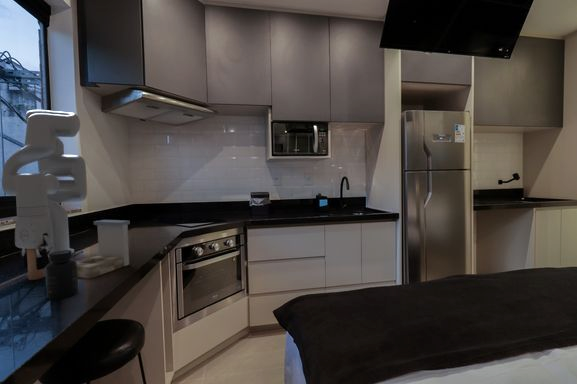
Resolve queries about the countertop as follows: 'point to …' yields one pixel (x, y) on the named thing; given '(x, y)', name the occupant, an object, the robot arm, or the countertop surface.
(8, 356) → the countertop surface
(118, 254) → the white lidded canister
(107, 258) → the socket block
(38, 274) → the peg
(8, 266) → the countertop surface
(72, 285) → the supplement bottle
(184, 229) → the countertop surface
